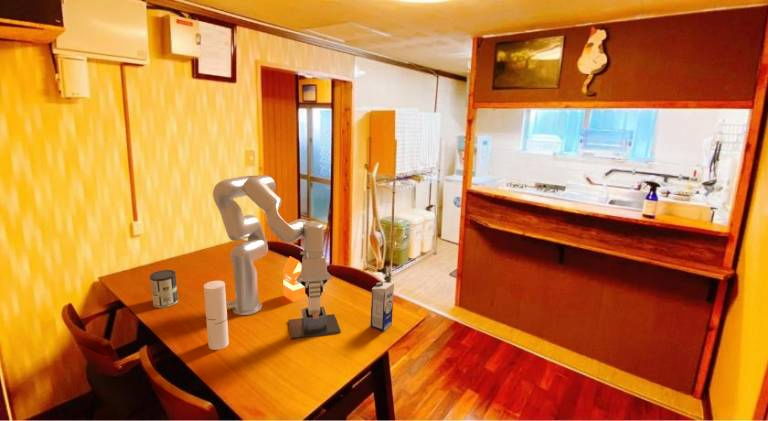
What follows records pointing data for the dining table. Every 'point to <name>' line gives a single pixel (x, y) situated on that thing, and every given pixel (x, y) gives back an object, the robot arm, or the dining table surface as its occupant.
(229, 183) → the robot arm
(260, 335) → the dining table surface
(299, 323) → the stand base
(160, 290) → the coffee can
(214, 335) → the cylindrical container
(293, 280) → the orange juice
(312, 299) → the column
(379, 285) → the milk carton
